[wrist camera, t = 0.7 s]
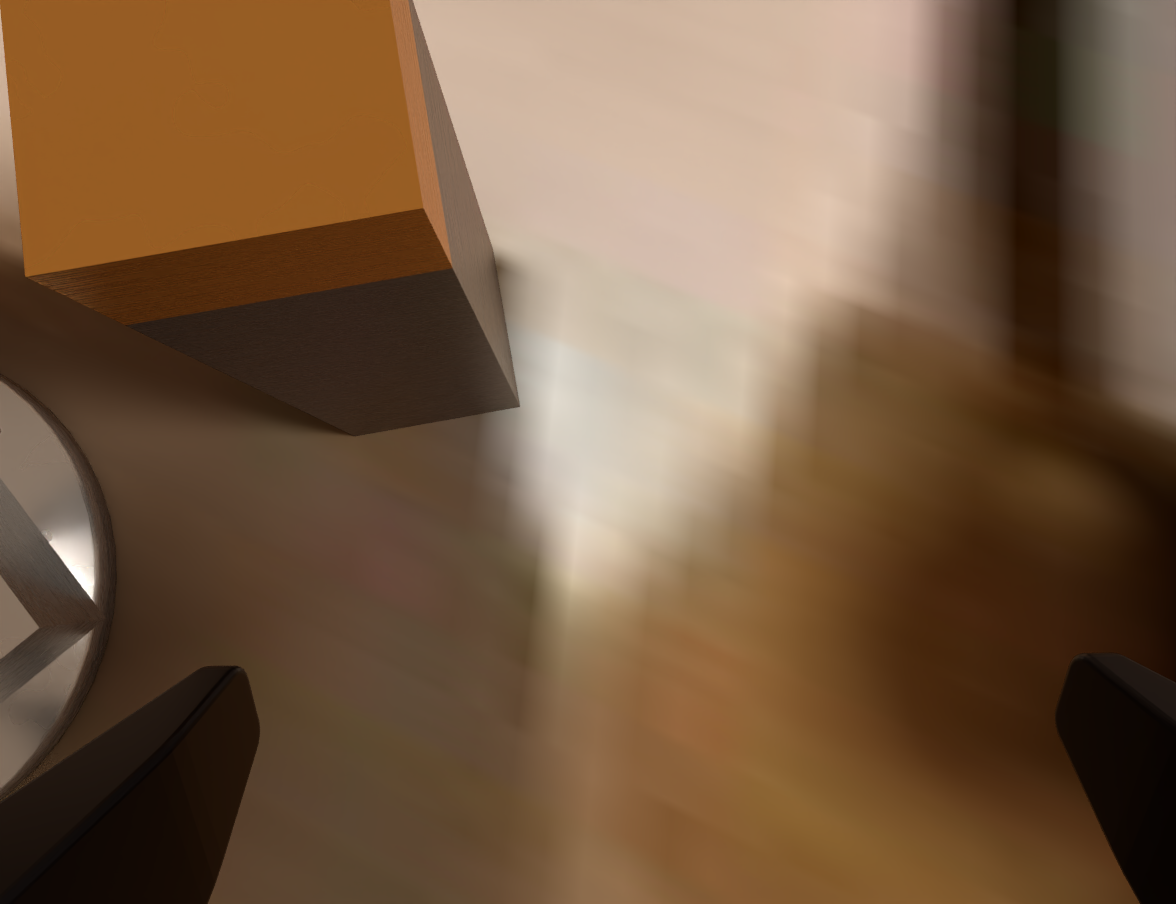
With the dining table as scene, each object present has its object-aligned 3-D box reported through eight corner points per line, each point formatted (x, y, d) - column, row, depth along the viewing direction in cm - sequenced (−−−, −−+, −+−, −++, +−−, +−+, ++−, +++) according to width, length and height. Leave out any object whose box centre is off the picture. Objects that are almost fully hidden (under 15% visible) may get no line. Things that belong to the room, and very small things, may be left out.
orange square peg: (519, 406, 22) (423, 207, 9) (354, 436, 22) (24, 276, 9) (492, 249, 23) (366, -143, 10) (331, 277, 23) (-8, -83, 10)
